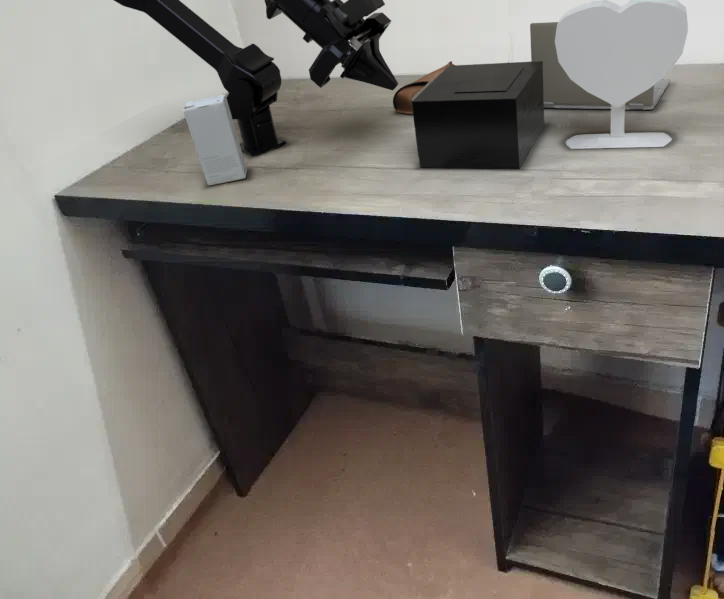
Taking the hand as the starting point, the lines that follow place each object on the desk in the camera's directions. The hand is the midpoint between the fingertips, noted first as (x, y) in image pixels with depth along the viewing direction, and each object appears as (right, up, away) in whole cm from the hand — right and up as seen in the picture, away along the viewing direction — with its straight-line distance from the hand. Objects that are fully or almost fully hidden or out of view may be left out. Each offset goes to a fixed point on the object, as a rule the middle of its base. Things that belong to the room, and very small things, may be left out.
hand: (395, 87), depth 105 cm
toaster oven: (+13, -9, 0) cm, 15 cm away
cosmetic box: (-25, -12, +5) cm, 29 cm away
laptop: (+33, +1, +9) cm, 34 cm away
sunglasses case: (+9, +5, +22) cm, 24 cm away
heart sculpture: (+30, -9, -7) cm, 32 cm away
